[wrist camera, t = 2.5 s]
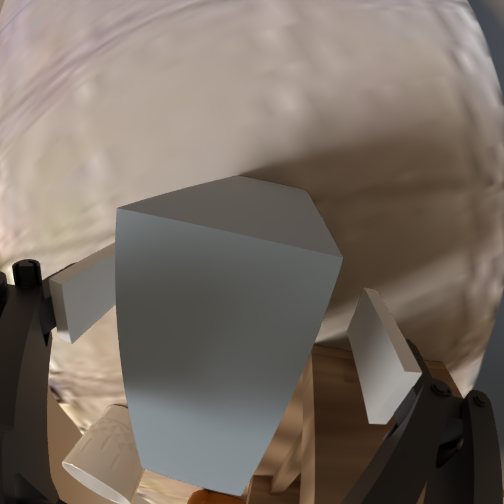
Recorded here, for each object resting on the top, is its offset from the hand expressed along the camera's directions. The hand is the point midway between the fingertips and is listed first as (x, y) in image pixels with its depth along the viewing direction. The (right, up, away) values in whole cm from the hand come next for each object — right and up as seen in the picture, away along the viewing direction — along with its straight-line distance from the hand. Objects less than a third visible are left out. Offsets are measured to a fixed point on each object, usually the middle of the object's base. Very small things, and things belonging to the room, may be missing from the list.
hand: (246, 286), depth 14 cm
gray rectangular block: (0, +1, +3) cm, 3 cm away
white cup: (-14, -18, +11) cm, 25 cm away
